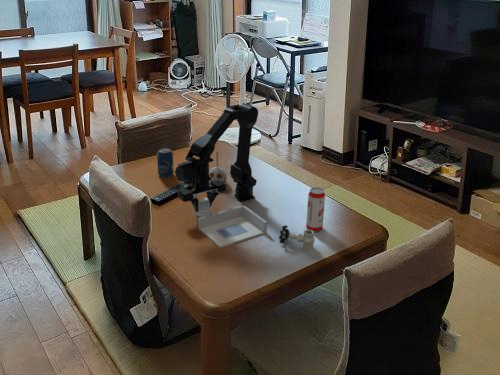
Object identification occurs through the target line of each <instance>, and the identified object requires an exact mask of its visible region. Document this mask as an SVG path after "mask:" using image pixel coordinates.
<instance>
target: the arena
mask: <svg viewBox="0 0 500 375" xmlns="http://www.w3.org/2000/svg"><path fill="white" fill-rule="evenodd" d="M197 218H198V219H197V220H198V230H199V231H200V232H202V233H203V234H204V235H205V236H206V237H208V239H210V240H211V241H212V242H213V243H215V245H216V246H218V247H219V248H223V247H227V246H231V245H233V244H236V243H239V242H242V241H245V240H249V239H252V238H254V237H258V236H261V235H265V234H266V233H267V232H268V221H267V220H265V219H264V218H263V217H261V216H259V214H257V213H256V212H255V211H253V210H252V209H250V208H249V207H247V206H246V205H245V204H242V205H237V206H235V207H231V208H228V209H225V210H221V211H217V212H213V214H210V215H206V216H203V217H197Z"/></svg>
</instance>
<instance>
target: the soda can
mask: <svg viewBox="0 0 500 375" xmlns="http://www.w3.org/2000/svg"><path fill="white" fill-rule="evenodd" d="M156 159H157V162H156V163H157V174H158V175H159V177H160V178H165V179H166V178H172V176H173V175H174V173H175V170H174V153H173V151H172V149H171V148H169V147H161V148H159V149H158V150H157V154H156Z"/></svg>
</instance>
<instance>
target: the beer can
mask: <svg viewBox="0 0 500 375" xmlns="http://www.w3.org/2000/svg"><path fill="white" fill-rule="evenodd" d="M309 189H310V190H309V192H308V195H307V206H306V207H307V210H306V224H305V228H306V230H312V231H314V233H318V232H320V231H322V229H323V227H324V216H325V203H326V202H325V201H326V193H325V189H324V188H321V187H311V188H309Z"/></svg>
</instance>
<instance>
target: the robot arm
mask: <svg viewBox="0 0 500 375" xmlns="http://www.w3.org/2000/svg"><path fill="white" fill-rule="evenodd" d="M258 117H259V109H258V108H257V107H255V106H253V105H250V104H247V103H245V102H243V103H240V104H239V105H232V106H231V107H226V108H225V109H223V112H222V114H221V115H220V116H219V118H218V119H217V120H216V121H215V122H214V123H213V125H212V126H211V127H210V128H209V130H208V131H207V132H206V133H205V134H204V135H202V136H200V137H198V138H196V140H195V141H194V142H193V143H192V144H190V145H191V146H190V149H189V150H188V153H187V154H186V156H185V160H186V161H184V162H180V163H178V164H177V166H176V168H175V170H174V173H175V174H174V175H175V177H176V179H177V180H178V181H179V182H181V183H182V182H183V185H185V186H188V187H189V186H191V188H192V189H193V190H190V189H188V188H187V187H186V188H182V189H179V190H178V191H177V195H176V197H177V198H178V199H180V201H182V202H184V203H187V202H191V204H192V207H193V210H194V212H195V213H196V212H198V200H199V198H197V195H199V194H203V193H206V198H208V199H209V200H210V208H211V206H212V205H213V203H214V201H215V199H216V198H217V196H219V194H220V193H223V192H227V184H226V185H225V184H224V183H222V182H221V181H219V180H217V181H213V182H211V183H210V184H209V180H211V177H209V171H210V163H212V162H214V161H215V160H214V159H213V158H212V157H211V155H212V154H213V153H214V151H215V148H216V144H217V142H218V141H219V140H220V138H221V137H222V136H223V135H224V133H225V132H226V131H227V130H228V128H229V127H230V126H231V125H232V123H233V122H234V121H237V123H238V126H239V131H238V140H237V141H238V142H237V151H236V152H237V153H236V161H235V162H234V163H233V164H230V171H229V174H230V178H232V181H233V182H234V183H236V184H235V185H236V186H235V194H234V195H233V196H234V197H235V198H236V199H238V200H239V201H241V202H246V201H249V200H252V199H253V200H254V199H255V198H256V196H255V195H254V187H255V186H256V185H257V182H258V180H257V179H256V178H255V177H253V176H252V175H253V174H252V172H253V171H252V170H253V169H252V166H251V164H250V162H249V161H250V152H251V143H252V142H251V140H252V131H253V127H254V126H255V124H256V123H257V121H258Z"/></svg>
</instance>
